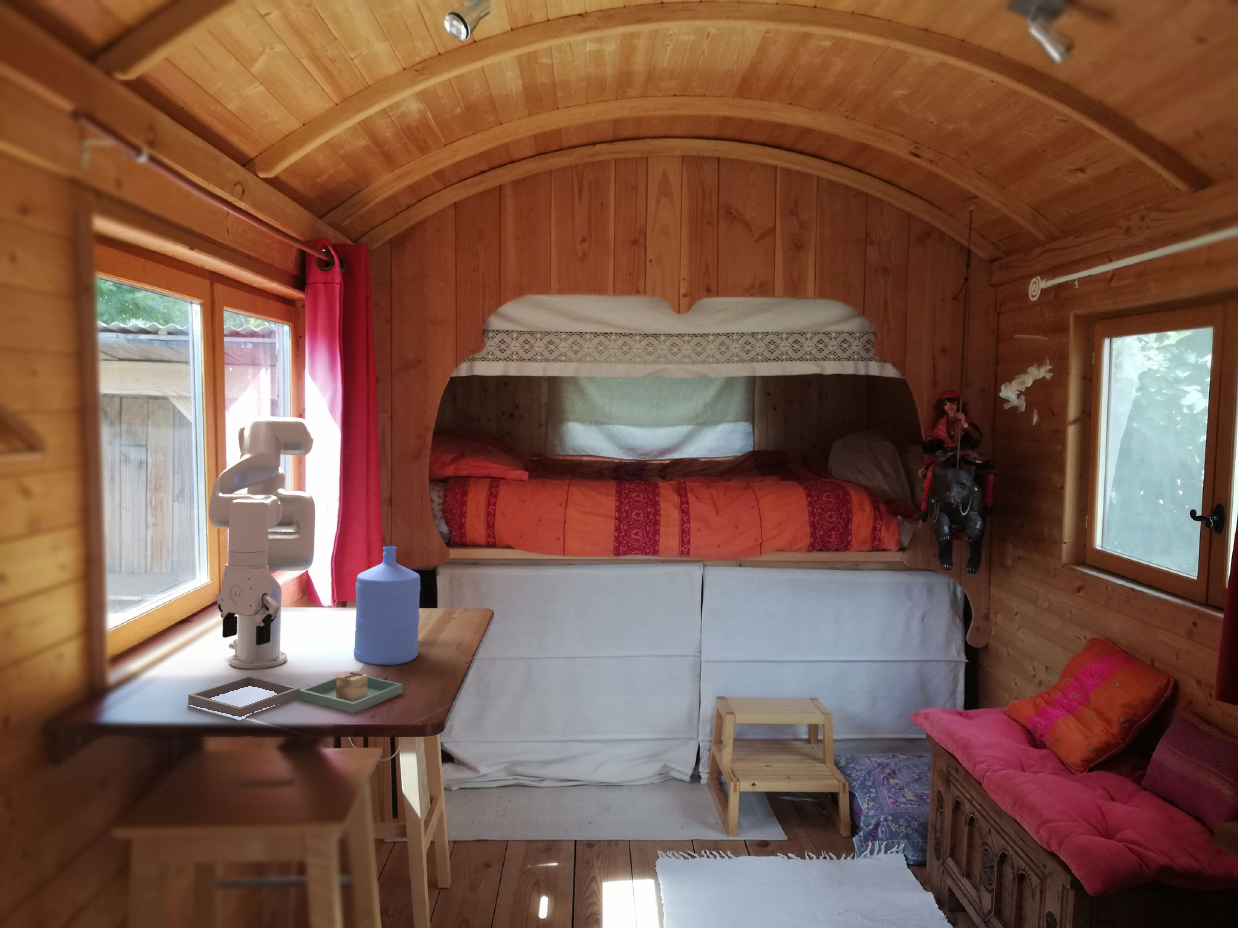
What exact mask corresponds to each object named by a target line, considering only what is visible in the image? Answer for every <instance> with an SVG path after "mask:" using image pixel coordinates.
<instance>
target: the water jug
mask: <svg viewBox="0 0 1238 928" xmlns="http://www.w3.org/2000/svg"><path fill="white" fill-rule="evenodd" d="M382 549H383V553H382V562H381V563H380V564H377V565H375V566H372V567H370V568H369V569H367V570H365V571H362V572H360V573H359V574H358V575H357V576H356V582H355V594H356V595H355V596H356V597H355V603H356V608H355V609H356V610H355V611H356V612H355V613H356V614H355V631H354V648H353V657H354V659H355V660H357V661H358V662H360V663H363V664H368V665H375V666H395V665H401V664H402V665H403V664H405V663H408V662H411V661H414V659H417V656H418V654H419V644H418V643H419V624H420V593H421V576H420V574H419V573H417V572H416V571H413V570H411V569H410V568H407V567H405V566H402V565H400V564H399V563H397V562H396V561H397V560H396V556H397V553H396V551H397V546H394V545H386V546H383V547H382Z"/></svg>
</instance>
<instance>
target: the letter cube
mask: <svg viewBox="0 0 1238 928" xmlns="http://www.w3.org/2000/svg"><path fill="white" fill-rule="evenodd" d="M368 676H369V675H368V674H365V673H361V672H356V671H352V670H351V671H348V672H346V673H342V674H340V675H338V676H336V677H337V683H336V697H337V698H341V699H345V700H349V701H354V700H356V699H359V698H361V697H364V696H366V695H367V680H368Z"/></svg>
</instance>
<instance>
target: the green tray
mask: <svg viewBox="0 0 1238 928" xmlns="http://www.w3.org/2000/svg"><path fill="white" fill-rule="evenodd" d="M336 683H337V676H336V677H333V678H330V679H327V680H325V681H322V682H318V683H316V684H312V685H310V686H307V687H305V688H302V689H299V698H298V699H299V700H298V701H302V702H306V703H309V704H313V705H316V706H317V705H318V706H321V707H322V706H323V707H325V708H330V709H334V710H337V711H341V712H345V713H349V714H354V715H355V714H357V713H358V712H360V711H363V710H366V709H368V708H370V707H373V706H375V705H377V704H380V703H382V702H384V701H387V700H390V699H392V698H394V697H396V696H399V695H402V694H403V683H400V682H394V681H392V680H386V679H381V678H378V677H373V676H369V675H368V680H367V695H366V696H364V697H361V698H359V699H356V700H354V701H349V700H345V699H341V698H337V697H336Z"/></svg>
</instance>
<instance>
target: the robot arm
mask: <svg viewBox="0 0 1238 928" xmlns="http://www.w3.org/2000/svg"><path fill="white" fill-rule="evenodd" d="M237 437H238V438H237V439H238V448H239V451H240V456H239V460H237V461H236V462H235V463H233V464H231V465H229V466H228V467H227V468H225V470H223V471H222V472H221V473H220V474H219V475H218V476H217V477H216V479H215V481H214V483H213V485H212V489H211V494H210V498H209V499H210V500H209V505H208V519H209V523H210V524H211V525H212V526H213V527H215V528H217V529H221V530H222V529H223V530H226V529H227V530H228V540H227V543H228V547H227V548H228V549H227V551H228V552H227V563H226V564H225V567H224V570H223V575H222V581H221V590H220V592H219V593H218V594H216V595H215V599H216V603H217V608H218V611H219V612H220V617H221V619H222V638H223V639H226V638H229V637H230V638H231V637H233V636H236V635H237V638H235V639H234V640H233V642H231V643H229V644H228V648H229V650H230V649H231V650H234V655H232V656H231V657H230V659H229V664H230V665H231V666H233V667H234V668H239V669H246V668H258V669H266V667H267V668H271V667H277V666H279V665H281V664H284V663H285V662H286V661H287V659H288V658H287V656H288V655H287V653H285V651H281V630H282V629H281V625H282V622H281V621H282V587H281V585H280V582H278V580H277V579H276V578H275V576H274V575H273V574H271V573H273V572H275V573H276V572H296V571H297V572H298V571H299V572H303V571H306V570H308V569H309V568H311V566H312V565H313V562H314V556H315V536H316V535H315V534H316V529H315V528H316V505H315V500H314V497H313V496H312V495H311V493H308V492H304V491H293V490H292V491H289V490H288V491H286V490H285V486H286V484H285V483H286V475H285V472H284V471H283V470H282V468H281V458H282V457H281V456H307V455H309V453H310V452H311V450H312V448H313V444H314V431H313V428H312V426H311V424H310V423H309V422H308V421H307V420H305V419H303V418H298V417H282V416H281V417H278V416H260V417H259V416H258V417H255V418H253V419H251V420H250V421H246V422H243V423H242V424H240V426H239V428H238V435H237ZM244 489H247V492H246V493H236V492H238V491H240V490H244ZM271 530H273V531H271ZM275 530H276V531H275ZM277 530H281V531H277ZM282 530H286V531H282ZM287 530H288V531H287Z"/></svg>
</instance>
